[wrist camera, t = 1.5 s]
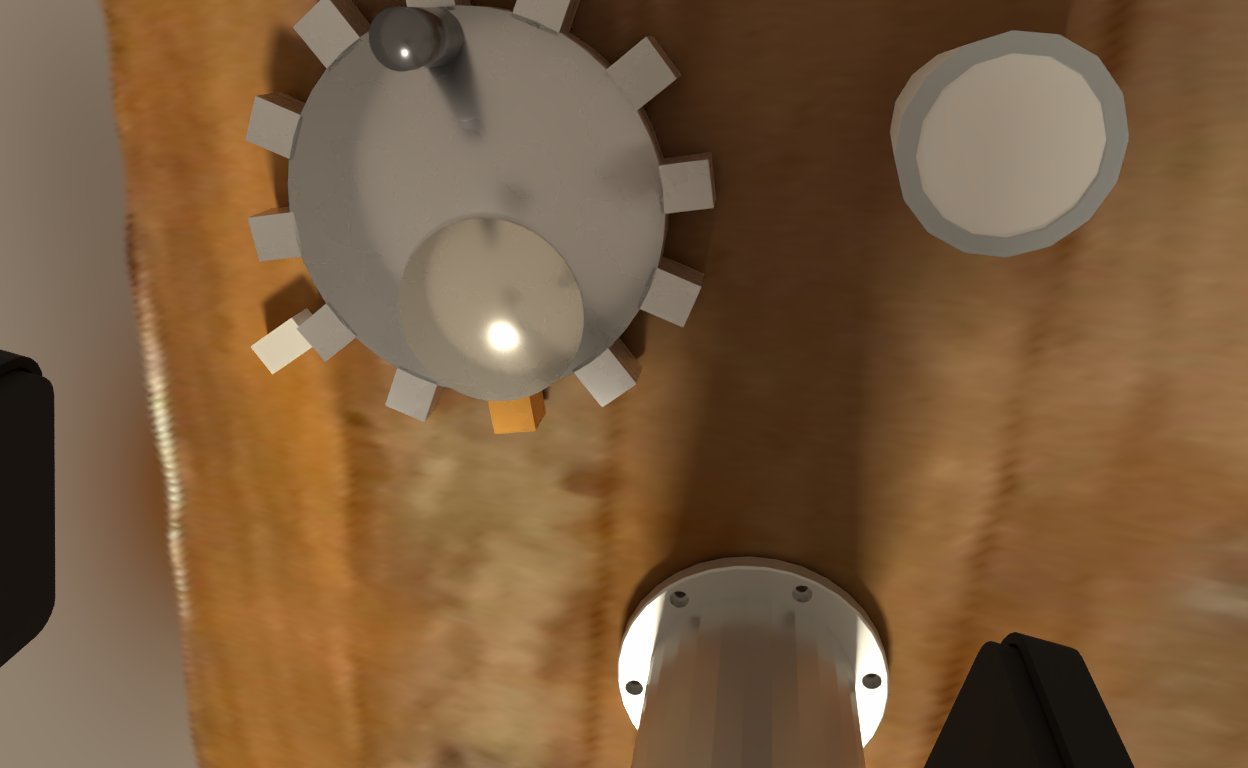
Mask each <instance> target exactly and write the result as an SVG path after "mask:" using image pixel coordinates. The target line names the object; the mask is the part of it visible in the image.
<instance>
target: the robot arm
mask: <svg viewBox="0 0 1248 768" xmlns="http://www.w3.org/2000/svg"><path fill="white" fill-rule="evenodd" d="M54 464H55V462H54V391H53V386H52V384H51V382H50V381H49V380H47V379H46V378H45V377H42V371H41V370H40V367H39V365H38V363H36V362H35V361H34V360H32V359H31V358H29V357H25V356H21V355H17V354H14V353H11V352H7V351H3V350H0V667H1V666H2V665H4V664H5V663H6V662H7V661H8V660H9V659H11V658H12V657H13V656H14V655H15V654H16V653H17V652H19V651H20V650H21V649H22V648H23V647H24V646H25V645H27V644H28V643H29V642H30V641H31V640H32V639H34V638H35V637H36V636H37V635H38V634H39V632H40V631H41V630H42V629H43V628H44V626H45V625H46V623H47V622H48V619H49V617H50V615H51V613H52V610H53V607H54V603H55V480H54V479H55V478H54V477H55V476H54V475H55V474H54V473H55V468H54V467H55V465H54ZM801 585H802V586H804V587H799V586H801ZM678 591H681V592H678ZM617 683H618V687H619V691H620V695H621V700H622V703H623V705H624V707H625V710H626V712H627V714H628V716H629V718H630V720H631V722H632V724H633V725H634V726H635V728H636V729H637V730H638V732H637V737H636V742H635V748H634V753H633V759H632V764H631V768H866V767H865V760H864V752H863V749H864V748H865V746H866V745H867V744H868V743H869V742H870V740H871V739H872V738H873V737H874V735H875V733H876V732H877V730H878V728H879V726H880V724H881V722H882V720H883V718H884V715H885V711H886V707H887V703H888V698H889V670H888V665H887V659H886V653H885V650H884V647H883V644H882V642H881V639H880V636H879V633H878V631H877V629H876V628H875V626H874V624H873V623H872V621H871V620H870V618H869V616H868V615H867V613H866V612H865V610H864V609H863V608H862V607H861V606H860V605H859V604H858V603H857V602H856V601H855V600H854V599H853V598H852V597H851V596H850V595H849V594H848V593H847V592H846V591H844V590H843V589H841V588H840V587H839V586H837V585H836V584H834V583H833V582H832V581H830V580H829V579H827V578H826V577H823V576H821V575H819V574H817V573H815V572H813V571H811V570H809V569H807V568H805V567H802V566H799V565H795V564H792V563H788V562H785V561H781V560H777V559H769V558H760V557H751V556H748V557H729V558H721V559H716V560H712V561H707V562H703V563H699V564H696V565H694V566H691V567H689V568H687V569H684V570H682V571H679V572H677V573H675V574H674V575H672V576H671V577H669V578H668V579H666V580H665V581H663V582H662V583H660V584H659V585H657V586H656V587H655V588H654V589H653V590H652V591H651V592H650V593H649V594H648V595H647V596H646V597H645V598H644V599H643V600H642V601H641V602H640V603H639V605H638V606H637V608H636V609H635V611H634V613H633V614H632V616H631V617H630V619H629V620H628V623H627V626H626V629H625V632H624V634H623V637H622V640H621V645H620V650H619V655H618V660H617ZM924 768H1134V766H1133V763H1132V761H1131V759H1130V757H1129V755H1128V753H1127V751H1126V749H1125V747H1124V744H1123V742H1122V740H1121V738H1120V736H1119V734H1118V732H1117V730H1116V728H1115V725H1114V723H1113V721H1112V719H1111V717H1110V715H1109V713H1108V711H1107V709H1106V706H1105V704H1104V702H1103V700H1102V698H1101V696H1100V694H1099V692H1098V690H1097V688H1096V685H1095V683H1094V681H1093V679H1092V677H1091V675H1090V673H1089V671H1088V669H1087V666H1086V664H1085V662H1084V660H1083V658H1082V656H1081V655H1080V654H1079V652H1078V651H1077V650H1075V649H1073V648H1071V647H1067V646H1064V645H1060V644H1056V643H1053V642H1049V641H1046V640H1042V639H1038V638H1035V637H1031V636H1028V635H1024V634H1020V633H1017V632H1014V633H1011V634H1009V635H1008V636H1007V637H1006V638H1004V639H1003V641H1002V643H1001V644H999V643H996V642H992V641H990V642H986V643H985V644H984V645H983V646H982V648H981V649H980V651H979V653H978V655H977V657H976V659H975V661H974V663H973V665H972V667H971V669H970V671H969V674H968V676H967V678H966V680H965V682H964V684H963V686H962V688H961V690H960V693H959V695H958V697H957V699H956V701H955V703H954V705H953V707H952V709H951V712H950V714H949V716H948V718H947V720H946V722H945V724H944V726H943V728H942V731H941V733H940V735H939V737H938V739H937V741H936V743H935V745H934V747H933V750H932V752H931V754H930V756H929V758H928V760H927V762H926V764H925V766H924Z"/></svg>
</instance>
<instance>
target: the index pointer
mask: <svg viewBox="0 0 1248 768" xmlns="http://www.w3.org/2000/svg"><path fill="white" fill-rule="evenodd" d="M311 316H312V313H311V312H310V311H309V309H308V308H306V309H304V310H303V311H301V312H299V313H298V314H296V315H295V316H293V317H292V318H290V319H289V320H287V321H286V322H285V323H283V324H282V325H280V326H279V327H278V328H276V329H275V330H273V331H272V332H270V333H269V334H268V335H266V336H265V337H263V338H262V339H261V340H259V341H258V342H256V343H255V344H254V345H252V346H251V348H252V349H253V350H254V352H255V353H256V354H257V355H258V357H259V358H260V359H261V360H262V362H263V363H264V364H265V365H266V367H267V368H268V369H269V370H270V372H271V373H272V374H274V373H275V372H277V371H278V370H280V369H281V368H283V367H284V366H285V365H287V364H288V363H290V362H291V361H293V360H294V359H296V358H297V357H298V356H300V355H301V354H303V353H304V352H306V351H307V350H309V349H310V348H312V346H311V345H310V344H309V343H308V342H307V340H306V339H305V338H304V337H303V336H302V335H301V334H300V332H299V331H298V330H297V329H296V328H298V327H299V326H300V325H301V324H302V323H304V322H305V321H306V320H307V319H308V318H310V317H311Z"/></svg>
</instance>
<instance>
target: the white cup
mask: <svg viewBox="0 0 1248 768" xmlns="http://www.w3.org/2000/svg"><path fill="white" fill-rule="evenodd" d="M890 136H891V142H892V147H893V153H894V159H895V163H896V168H897V172H898V177H899V181H900V186H901V190H902V195H903V200H904V201H905V203H906V204H907V205H908V207H909V208H910V209H911V211H912V212H913V213H914V215H915V216H916V217H917V219H918V220H919V221H920V223H921V224H922V225H923V227H924V228H925V229H926V231H927V232H928V233H930V234H931V235H933V236H935V237H937V238H939V239H940V240H942V241H944V242H946V243H948V244H949V245H951V246H953V247H955V248H957V249H958V250H960V251H962V252H964V253H971V254H980V255H989V256H998V257H1011V256H1015V255H1018V254H1022V253H1026V252H1030V251H1034V250H1038V249H1042V248H1046V247H1050V246H1052V245H1053V244H1055V243H1056V242H1058V241H1059V240H1061V239H1062V238H1064V237H1065V236H1067V235H1068V234H1069V233H1071V232H1072V231H1074V230H1075V229H1077V228H1078V227H1080V226H1081V225H1083V224H1084V223H1086V222H1087V221H1089V220H1090V219H1091V217H1092V216H1093V214H1094V213H1095V212H1096V210H1097V209H1098V208H1099V206H1100V205H1101V204H1102V202H1103V201H1104V199H1105V198H1106V197H1107V195H1108V194H1109V193H1110V191H1111V190H1112V189H1113V187H1114V186H1115V184H1116V183H1117V181H1118V178H1119V174H1120V170H1121V166H1122V163H1123V159H1124V155H1125V152H1126V148H1127V144H1128V141H1129V131H1128V124H1127V118H1126V111H1125V104H1124V97H1123V93H1122V91H1121V90H1120V88H1119V87H1118V85H1117V84H1116V82H1115V81H1114V79H1113V78H1112V76H1111V75H1110V73H1109V72H1108V70H1107V69H1106V67H1105V66H1104V64H1103V63H1102V61H1101V60H1100V58H1099V57H1098V56H1096V55H1095V54H1093V53H1091V52H1089V51H1088V50H1086V49H1084V48H1082V47H1081V46H1079V45H1077V44H1075V43H1074V42H1072V41H1070V40H1068V39H1067V38H1065V37H1063V36H1061V35H1060V34H1049V33H1038V32H1027V31H1015V30H1012V31H1009V32H1005V33H1002V34H999V35H996V36H992V37H989V38H986V39H983V40H980V41H976V42H973V43H970V44H967V45H964V46H961V47H958V48H955V49H952V50H949V51H946V52H943V53H940V54H938V55H936V56H935V57H934V58H932V59H931V60H930V61H929V62H927V63H926V64H925V65H924V66H922V67H921V68H920V69H918V70H917V71H916V72H915V73H913V74H912V75H911V77H910V78H909V80H908V82H907V83H906V85H905V87H904V88H903V90H902V92H901V93H900V95H899V96H898V98H897V100H896V101H895V106H894V111H893V117H892V122H891V128H890Z"/></svg>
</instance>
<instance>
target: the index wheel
mask: <svg viewBox="0 0 1248 768" xmlns="http://www.w3.org/2000/svg"><path fill="white" fill-rule="evenodd" d="M406 3H407V7H389V8H386V9H384V10H382V11H381V12H379V13H378V14H377V15H376V16H375V18H374V19H373V21H372V23H371V24H370V23H369V22H368V20H367V19H366V18H365V17H364V15H363V14H362V13H361V12H360V10H359V9H358V8H357V7H356V5H355V4H354V3H353V2H352V0H320V1H319V2H318V3H317V4H316V5H315V6H314V7H313V8H312V9H311V10H310V11H309V12H308V13H307V14H306V15H305V16H304V17H303V18H302V19H301V20H300V21H299V22H298V23H297V24H296V25H295V26H294V27H293V28H294V29H295V30H296V32H297V33H298V34H299V35H300V37H301V38H302V39H303V40H304V41H305V43H306V44H307V45H308V46H309V48H310V49H311V50H312V51H313V53H314V54H315V55H316V56H317V57H318V59H319V60H320V61H321V62H322V64H323V65H324V66H325V67H326V70H325V72H324V73H323V75H322V76H321V78H320V79H319V81H318V82H317V84H316V85H315V87H314V88H313V90H312V91H311V93H310V95H309V97H308V99H307V102H306V103H305V102H303V101H300V100H298V99H296V98H293V97H291V96H289V95H286V94H284V93H282V92H276V93H270V94H264V95H257V96H255V100H254V105H253V109H252V113H251V118H250V122H249V126H248V131H247V135H246V139H245V140H246V141H248V142H251V143H253V144H255V145H258V146H260V147H262V148H265V149H267V150H269V151H272V152H274V153H276V154H279V155H281V156H283V157H286V158H288V159H289V170H288V196H289V206H287V207H279V208H271V209H269V210H266V211H264V212H261V213H259V214H256V215H253V216H251V217H248V221H249V225H250V228H251V232H252V236H253V239H254V243H255V246H256V250H257V254H258V257H259V261H267V260H276V259H284V258H293V257H302V259H303V261H304V264H305V266H306V268H307V270H308V272H309V274H310V277H311V279H312V281H313V283H314V284H315V286H316V288H317V289H318V291H319V293H320V294H321V296H322V298H323V299H324V301H325V302H326V304H325V305H324V306H323V307H322V308H320V309H319V310H318V311H317V312H316V313H314V314H313V315H312V316H311V317H310V318H308V319H307V320H306V321H305V322H304V323H302V324H301V325H300V326H299V327H298V328H296V329H297V330H298V331H299V332H300V334H301V335H302V336H303V337H304V338H305V339H306V340H307V342H308V343H309V344H310V345H311V346H312V347H313V348H314V350H315V351H316V352H317V353H318V354H319V355H320V356H321V357H322V359H323V360H324V361H325V362H326V361H327V360H328V359H330V358H331V357H332V356H333V355H335V354H336V353H337V352H338V351H340V350H341V349H342V348H344V347H345V346H346V345H347V344H349V343H350V342H351V341H352V340H354V339H355V338H357V339H358V340H359V341H360V342H362V343H363V344H364V345H365V346H366V347H368V348H369V349H370V350H371V351H372V352H374V353H375V354H376V355H378V356H379V357H381V358H382V359H384V360H386V361H387V362H389V363H390V364H392V365H393V366H395V367H396V368H397V371H396V374H395V377H394V380H393V383H392V386H391V389H390V392H389V395H388V398H387V402H386V406H388V407H390V408H393V409H395V410H397V411H400V412H402V413H404V414H407V415H409V416H411V417H414V418H416V419H418V420H421V421H423V422H425V421H426V419H427V418H428V417H429V416H430V415H431V414H432V412H433V411H434V410H435V409H436V408H437V406H438V405H439V404H440V401H441V398H442V395H443V392H444V389H445V387H448V388H451V389H453V390H455V391H457V392H460V393H462V394H464V395H467V396H470V397H473V398H477V399H482V400H488V404H489V408H490V413H491V418H492V423H493V428H494V433H495V434H500V433H512V432H525V431H536V429H537V428H538V426H539V424H540V422H541V421H542V419H543V417H544V415H545V413H546V409H545V404H544V398H543V393H542V390H544V389H545V388H547V387H549V386H550V385H551V384H553V383H554V382H555V381H557V380H559V379H561V378H564V377H566V376H568V375H571V374H573V373H575V375H576V376H577V377H578V378H579V380H580V381H581V382H582V383H583V384H584V386H585V387H586V388H587V389H588V391H589V392H590V393H591V394H592V396H593V397H594V398H595V399H596V400H597V402H598V403H599V404H600V405H601V407H604V406H605V405H607V404H608V403H609V402H611V401H612V400H614V399H615V398H617V397H618V396H620V395H621V394H622V393H624V392H625V391H627V390H628V389H630V388H631V387H633V386H634V385H636V384H637V381H638V378H639V376H640V373H641V370H642V366H641V364H640V363H639V362H638V361H637V359H636V358H635V357H634V356H633V354H632V353H631V352H630V351H629V349H628V348H627V347H626V346H625V344H624V343H623V342H622V341H621V339H620V338H619V336H620V335H621V334H622V333H623V332H624V331H625V330H626V328H627V327H628V326H629V324H630V323H631V321H632V320H633V318H634V317H635V316H636V314H637V313H638V311H639V309H641V310H643V311H646V312H648V313H650V314H653V315H655V316H657V317H660V318H662V319H664V320H667V321H669V322H671V323H674V324H676V325H678V326H681V327H684V325H685V323H686V320H687V318H688V316H689V314H690V312H691V309H692V307H693V305H694V303H695V300H696V298H697V296H698V294H699V291H700V289H701V287H702V283H703V279H704V275H705V274H704V273H701V272H699V271H697V270H694V269H692V268H690V267H687V266H685V265H683V264H680V263H678V262H676V261H673V260H671V259H669V258H666V257H664V256H663V252H664V248H665V243H666V238H667V233H668V223H669V213H675V212H684V211H692V210H701V209H709V208H714V205H715V201H716V191H715V182H714V173H713V164H712V155H711V152H708V153H700V154H693V155H685V156H677V157H669V158H664V157H663V154H662V151H661V148H660V145H659V142H658V138H657V135H656V132H655V130H654V128H653V126H652V124H651V122H650V120H649V118H648V115H647V113H646V111H645V109H644V107H643V106H644V105H645V104H646V103H648V102H649V101H650V100H651V99H653V98H654V97H655V96H656V95H657V94H659V93H660V92H661V91H662V90H664V89H665V88H666V87H667V86H669V85H670V84H671V83H672V82H674V81H675V80H676V79H677V78H679V77H680V76H681V74H680V73H679V71H678V70H677V68H676V67H675V66H674V64H673V63H672V62H671V60H670V59H669V57H668V56H667V55H666V53H665V52H664V50H663V49H662V48H661V46H660V45H659V44H658V42H657V41H656V39H655V38H654V37H653V35H651V36H646V37H645V38H644V39H643V40H641V41H640V42H639V43H638V44H637V45H635V46H634V47H633V48H632V49H631V50H629V51H628V52H627V53H626V54H625V55H623V56H622V57H621V58H620V59H619V60H617V61H616V62H615V63H614V64H613V65H611V64H610V63H609V62H608V61H607V60H606V59H605V58H604V57H602V56H601V55H600V54H599V53H598V52H597V51H596V50H595V49H594V48H592V47H591V46H590V45H588V44H587V43H585V42H584V41H582V40H581V39H580V38H578V37H577V36H575V35H574V34H572V33H571V32H570V29H571V26H572V23H573V20H574V18H575V15H576V12H577V9H578V6H579V3H580V0H517V1H516V4H515V7H514V10H510V9H505V8H500V7H487V6H471V1H470V0H406Z"/></svg>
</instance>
